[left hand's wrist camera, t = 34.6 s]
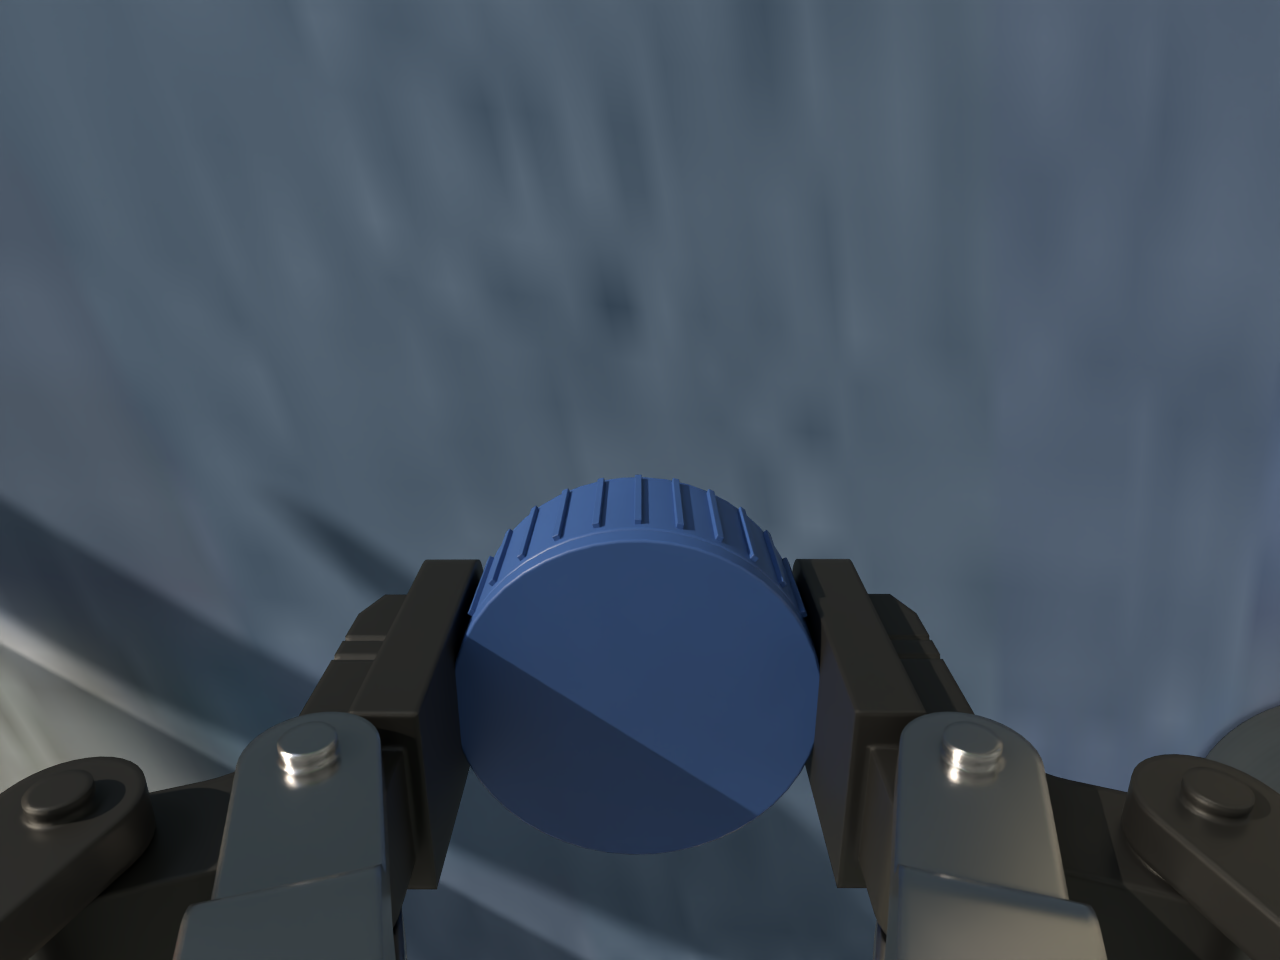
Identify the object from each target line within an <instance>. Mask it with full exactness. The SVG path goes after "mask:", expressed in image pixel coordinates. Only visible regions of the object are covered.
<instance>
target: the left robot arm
mask: <svg viewBox="0 0 1280 960" xmlns="http://www.w3.org/2000/svg"><path fill="white" fill-rule="evenodd" d="M792 573H793V576H794V579H795V581H796V584H797V587H798V590H799V593H800V596H801V598H802V601H803V604H804V607H805V610H806V613H807V616H806V617H804V618H805V621H806V624H807V626H808V629H809V632H810V635H811V638H812V641H813V644H814V648H815V651H816V654H817V658H818V662H819V665H820V677H819V690H818V702H817V713H816V725H815V737H814V746H813V749H812V752H811V754H810V756H809V758H808V760H807V762H806V764H805V766H806V770H807V774H808V777H809V781H810V785H811V789H812V793H813V797H814V800H815V804H816V808H817V812H818V816H819V820H820V823H821V827H822V831H823V835H824V839H825V843H826V846H827V850H828V854H829V858H830V862H831V866H832V869H833V873H834V877H835V881H836V885H837V888H867V891H868V894H869V897H870V901H871V904H872V907H873V911H874V914H875V916H876V919H877V920H876V928H875V936H874V949H873V960H1280V794H1279V793H1277V792H1276V791H1275V790H1273V789H1272V788H1270V787H1269V786H1267V785H1266V784H1264V783H1263V782H1261V781H1259V780H1258V779H1256V778H1254V777H1252V776H1250V775H1249V774H1247V773H1245V772H1243V771H1240V770H1238V769H1236V768H1233V767H1231V766H1228V765H1225V764H1222V763H1220V762H1217V761H1213V760H1209V759H1205V758H1201V757H1195V756H1190V755H1179V754H1169V755H1159V756H1154V757H1151V758H1148V759H1145V760H1144V761H1142V762H1140V763H1139V764H1138V765H1137V766H1136V767H1135V769H1134V771H1133V773H1132V776H1131V780H1130V785H1129V789H1128V792H1123V791H1119V790H1114V789H1109V788H1104V787H1100V786H1095V785H1090V784H1086V783H1081V782H1076V781H1072V780H1067V779H1063V778H1059V777H1055V776H1052V775H1049V774H1047V773H1045V770H1044V765H1043V762H1042V759H1041V757H1040V755H1039V754H1038V752H1037V750H1036V749H1035V748H1034V747H1033V746H1032V744H1031V743H1030V742H1029V741H1027V740H1026V739H1025V738H1024V737H1023V736H1021V735H1020V734H1018V733H1017V732H1015V731H1014V730H1012V729H1011V728H1009V727H1007V726H1005V725H1003V724H1001V723H998V722H996V721H994V720H991V719H988V718H985V717H982V716H978V715H975V714H974V713H973V711H972V709H971V707H970V706H969V704H968V702H967V700H966V699H965V697H964V695H963V693H962V692H961V690H960V688H959V687H958V685H957V683H956V681H955V680H954V678H953V676H952V674H951V673H950V671H949V669H948V667H947V666H946V664H945V662H944V661H943V659H940V654H939V652H938V650H937V648H936V647H935V645H934V643H933V641H932V640H929V634H928V633H927V631H926V629H925V628H924V626H923V624H922V622H921V621H920V619H919V617H918V615H917V614H916V613H915V612H914V611H912V610H911V609H910V608H908V607H907V606H906V605H904V604H903V603H901V602H900V601H899V600H897V599H896V598H895V597H893V596H892V595H890V594H868V593H867V591H866V589H865V587H864V585H863V583H862V581H861V579H860V577H859V575H858V573H857V571H856V569H855V567H854V565H853V563H852V561H851V560H850V559H796V560H795V562H794V565H793V571H792ZM482 574H483V568H482V564H481V562H480V560H425V561H424V563H423V564H422V566H421V568H420V570H419V572H418V574H417V576H416V578H415V580H414V582H413V584H412V586H411V588H410V590H409V592H408V594H407V595H384V596H383V597H381V598H380V599H379V600H377V601H376V602H375V603H373V604H372V605H370V606H369V607H368V608H366V609H365V610H364V611H362V612H361V613H359V614H358V616H357V618H356V619H355V621H354V623H353V625H352V626H351V628H350V630H349V631H348V633H347V635H346V640H345V641H343V642H342V643H341V645H340V647H339V648H338V650H337V652H336V654H335V659H334V660H331V662H330V664H329V666H328V667H327V669H326V671H325V672H324V674H323V676H322V678H321V679H320V681H319V683H318V684H317V686H316V688H315V689H314V691H313V693H312V695H311V696H310V698H309V700H308V701H307V703H306V705H305V707H304V708H303V710H302V712H301V713H300V715H299V716H298V717H295V718H292V719H289V720H286V721H284V722H282V723H279V724H277V725H275V726H273V727H271V728H269V729H268V730H266V731H265V732H263V733H262V734H260V735H259V736H257V737H256V738H255V739H254V740H253V741H252V742H250V743H249V744H248V746H247V747H246V748H245V749H244V750H243V752H242V754H241V755H240V757H239V759H238V762H237V765H236V770H235V772H233V773H230V774H227V775H224V776H221V777H218V778H215V779H211V780H207V781H203V782H198V783H193V784H188V785H184V786H179V787H174V788H170V789H165V790H160V791H156V792H151V793H149V791H148V787H147V783H146V779H145V776H144V774H143V771H142V770H141V769H140V768H139V767H138V766H137V765H136V764H134V763H133V762H131V761H128V760H125V759H122V758H115V757H91V758H83V759H78V760H73V761H69V762H65V763H61V764H58V765H55V766H52V767H50V768H47V769H44V770H42V771H40V772H37V773H35V774H33V775H31V776H29V777H27V778H25V779H23V780H21V781H19V782H18V783H16V784H15V785H13V786H12V787H10V788H8V789H7V790H5V791H4V792H3V793H1V794H0V960H407V949H406V936H405V928H404V920H403V913H402V904H403V901H404V898H405V894H406V891H407V889H437V887H438V883H439V879H440V876H441V872H442V868H443V864H444V861H445V857H446V853H447V850H448V846H449V842H450V838H451V835H452V831H453V827H454V823H455V820H456V816H457V812H458V809H459V805H460V801H461V797H462V794H463V790H464V786H465V782H466V779H467V775H468V771H469V768H470V765H469V763H468V761H467V759H466V757H465V754H464V752H463V750H462V745H461V734H460V722H459V711H458V699H457V688H456V676H455V661H456V658H457V655H458V652H459V649H460V647H461V643H462V640H463V637H464V634H465V631H466V629H467V626H468V623H469V620H470V617H471V616H470V615H468V612H469V609H470V606H471V604H472V601H473V598H474V595H475V593H476V590H477V587H478V585H479V582H480V579H481V576H482Z"/></svg>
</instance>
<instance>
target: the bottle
mask: <svg viewBox="0 0 1280 960" xmlns="http://www.w3.org/2000/svg"><path fill="white" fill-rule="evenodd" d="M1205 759H1209V760H1213V761H1217V762H1220V763H1222V764H1225V765H1228V766H1231V767H1233V768H1236V769H1238V770H1240V771H1243V772H1245V773H1247V774H1249V775H1250V776H1252V777H1254V778H1256V779H1258V780H1259V781H1261V782H1263V783H1264V784H1266V785H1267V786H1269V787H1270V788H1272V789H1273V790H1275V791H1276V792H1277V793H1279V794H1280V706H1277V707H1274V708H1272V709H1269V710H1266V711H1264V712H1262V713H1260V714H1258V715H1255V716H1254V717H1252V718H1250V719H1248V720H1247V721H1245V722H1243V723H1242V724H1240V725H1239V726H1237V727H1236V728H1235V729H1233V730H1232V731H1230V732H1229V733H1228V734H1227V735H1226V736H1225V737H1224V738H1222V739H1221V740H1220V741H1219V742H1218V743H1217V744H1216V745H1215V747H1214V748H1213V749H1212V750H1211V751H1210V752H1209V754H1208V755H1207V756H1206V758H1205Z"/></svg>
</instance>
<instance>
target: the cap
mask: <svg viewBox="0 0 1280 960" xmlns="http://www.w3.org/2000/svg"><path fill="white" fill-rule="evenodd" d="M468 615H470V616H471V617H470V620H469V623H468V626H467V629H466V631H465V634H464V637H463V640H462V643H461V647H460V649H459V652H458V655H457V658H456V661H455V676H456V688H457V699H458V711H459V722H460V734H461V745H462V750H463V752H464V754H465V757H466V759H467V761H468V763H469V765H470V766H471V768H472V769H473V771H474V773H475V774H476V776H477V777H478V779H479V780H480V781H481V783H482V784H483V785H484V786H485V787H486V789H487V790H488V791H489V792H490V793H491V795H492V796H493V797H494V798H495V799H496V800H498V801H499V802H500V803H501V804H502V805H503V806H504V807H505V808H506V809H507V810H508V811H510V812H511V813H513V814H514V815H515V816H517V817H518V818H519V819H521V820H522V821H524V822H525V823H527V824H528V825H530V826H532V827H534V828H536V829H537V830H539V831H541V832H543V833H545V834H547V835H549V836H552V837H554V838H556V839H559V840H561V841H563V842H566V843H570V844H573V845H576V846H580V847H583V848H586V849H592V850H597V851H602V852H607V853H619V854H657V853H666V852H674V851H679V850H683V849H687V848H692V847H696V846H699V845H702V844H705V843H708V842H711V841H714V840H717V839H719V838H721V837H723V836H726V835H728V834H730V833H732V832H734V831H736V830H738V829H740V828H741V827H743V826H745V825H746V824H748V823H749V822H751V821H753V820H754V819H756V818H757V817H758V816H760V815H761V814H762V813H764V812H765V811H766V810H767V809H769V808H770V807H771V806H772V805H773V804H774V803H775V802H776V801H777V800H778V799H779V798H780V797H781V796H782V795H783V794H784V793H785V792H786V791H787V790H788V789H789V787H790V786H791V785H792V783H793V782H794V781H795V779H796V778H797V777H798V775H799V774H800V773H801V771H802V769H803V767H804V765H805V764H806V762H807V760H808V758H809V756H810V754H811V752H812V749H813V746H814V737H815V725H816V713H817V702H818V690H819V677H820V665H819V662H818V658H817V654H816V651H815V648H814V644H813V641H812V638H811V635H810V632H809V629H808V626H807V624H806V621H805V618H804V617H806V616H807V613H806V610H805V607H804V604H803V601H802V598H801V596H800V593H799V590H798V587H797V584H796V581H795V579H794V576H793V573H792V570H791V567H790V564H789V562H788V560H787V558H784V559H782V558H781V556H780V554H779V553H778V551H777V549H776V548H775V546H774V544H773V541H772V538H771V535H770V533H769V532H768V531H767V530H766V531H765V532H763V531H762V530H761V528H760V527H759V526H758V525H757V524H755V523H754V522H753V521H752V520H751V519H750V518H749V517H748V516H747V515H746V511H745V510H744V509H743V508H742V507H740V508H739V509H737V508H736V507H734V506H733V505H732V504H730V503H729V502H727V501H725V500H723V499H721V498H719V497H717V496H715V493H714V491H712V490H710V489H708V491H705V490H702V489H699V488H696V487H694V486H691V485H688V484H684V483H679V479H674V478H673V480H672V481H671V480H666V479H656V478H646V477H642V475H635V478H618V479H611V480H604V478H601V479H598V481H597V482H595V483H592V484H588V485H584V486H581V487H578V488H576V489H573V490H571V491H569V489H565V490H563V491H562V494H561V495H559V496H557V497H555V498H554V499H552V500H550V501H549V502H547V503H545V504H543V505H542V506H540V507H539V508H538V507H537V506H535V507H533V508H532V509H531V512H530V515H529V516H527V517H526V518H525V519H524V520H523V521H522V522H521V523H520V524H519V525H518V526H517V527H516V528H515V529H514V530H513V531H512V530H511V529H509V530H508V531H507V532H506V534H505V537H504V540H503V543H502V545H501V546H500V548H499V549H498V551H497V553H496V555H495V557H494V558H493V557H491V556H489V558H488V560H487V563H486V566H485V568H484V571H483V574H482V576H481V579H480V582H479V585H478V587H477V590H476V593H475V595H474V598H473V601H472V604H471V606H470V609H469V612H468Z"/></svg>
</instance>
